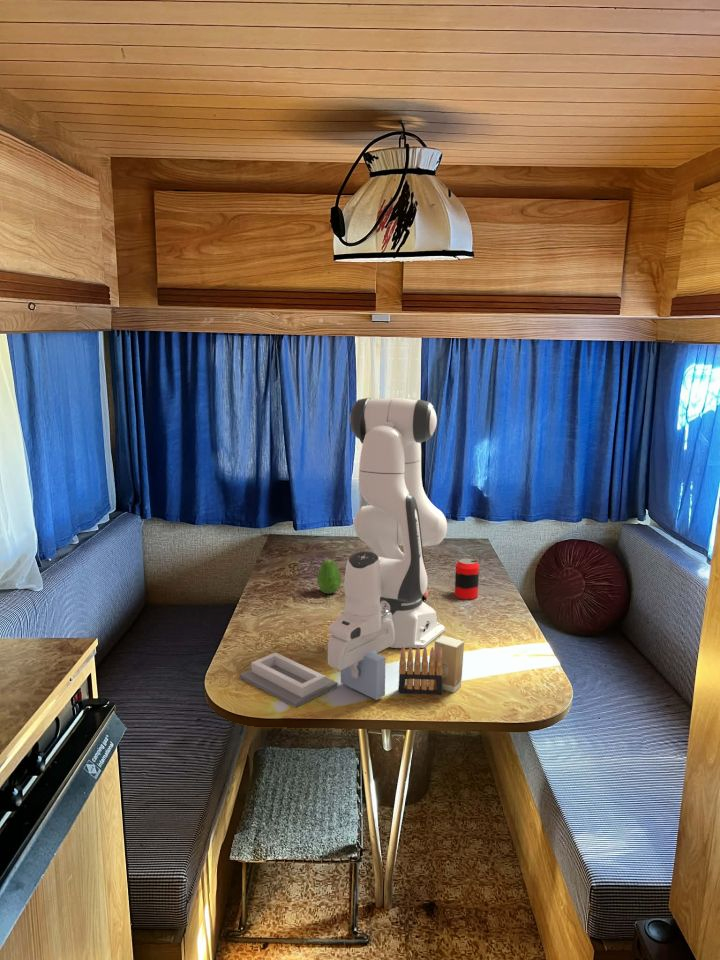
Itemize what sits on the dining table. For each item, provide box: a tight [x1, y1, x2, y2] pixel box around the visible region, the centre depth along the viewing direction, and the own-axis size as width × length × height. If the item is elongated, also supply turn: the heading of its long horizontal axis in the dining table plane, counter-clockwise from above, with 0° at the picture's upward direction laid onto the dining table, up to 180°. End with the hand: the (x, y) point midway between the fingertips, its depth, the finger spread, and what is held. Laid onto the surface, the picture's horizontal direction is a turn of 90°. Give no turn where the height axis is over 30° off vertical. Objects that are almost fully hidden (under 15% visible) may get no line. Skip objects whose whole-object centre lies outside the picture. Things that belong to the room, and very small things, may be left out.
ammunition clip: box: [397, 646, 443, 696], centre depth 176 cm, size 11×2×12 cm, turn 86°
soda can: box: [454, 558, 480, 600], centre depth 239 cm, size 8×8×12 cm
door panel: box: [340, 651, 386, 701], centre depth 175 cm, size 3×12×10 cm, turn 47°
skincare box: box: [433, 634, 465, 693], centre depth 179 cm, size 6×4×12 cm
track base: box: [239, 652, 339, 708], centre depth 181 cm, size 14×21×4 cm, turn 47°
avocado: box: [317, 558, 342, 595], centre depth 240 cm, size 8×8×12 cm
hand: (362, 673), depth 176 cm, fingers closed on door panel, 3 cm apart
